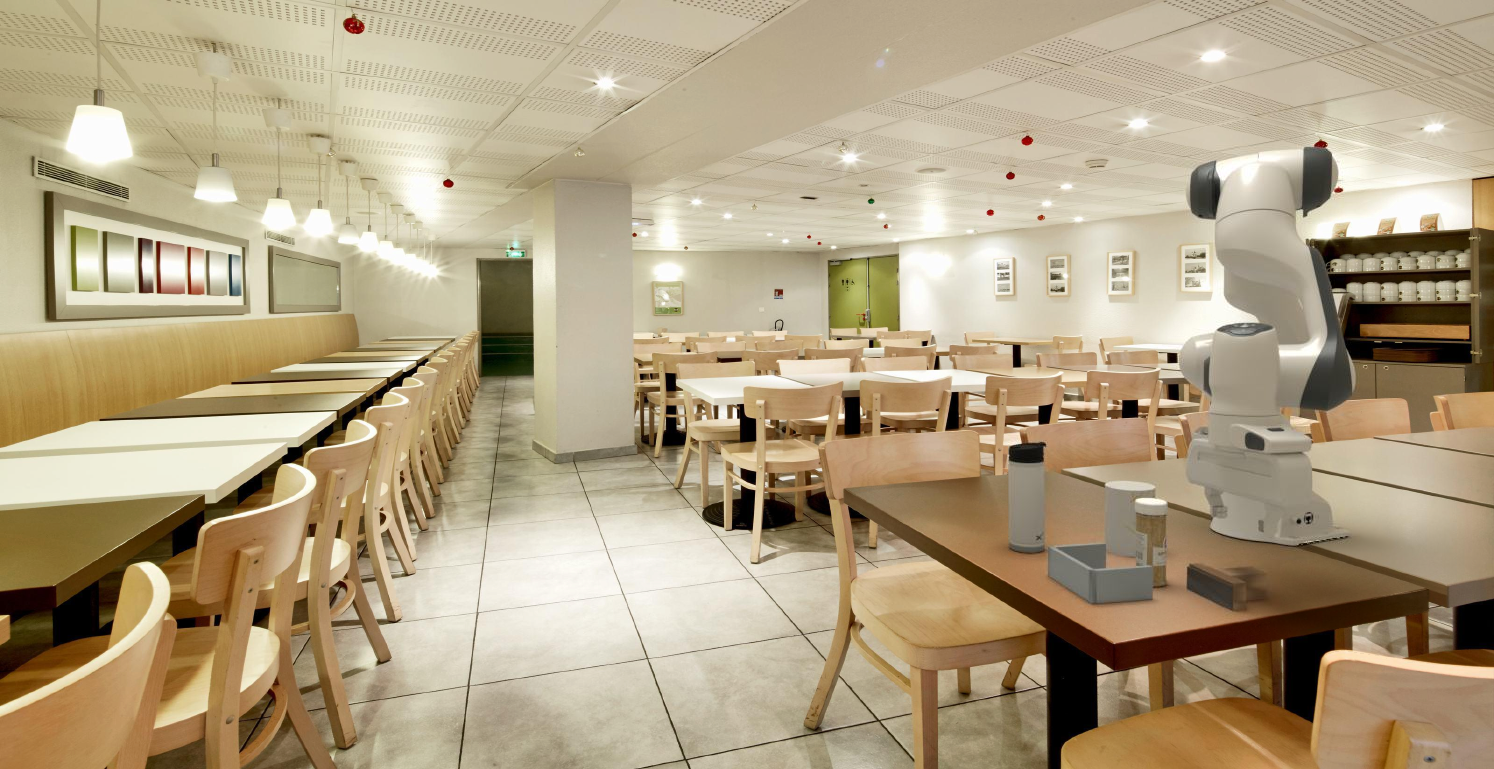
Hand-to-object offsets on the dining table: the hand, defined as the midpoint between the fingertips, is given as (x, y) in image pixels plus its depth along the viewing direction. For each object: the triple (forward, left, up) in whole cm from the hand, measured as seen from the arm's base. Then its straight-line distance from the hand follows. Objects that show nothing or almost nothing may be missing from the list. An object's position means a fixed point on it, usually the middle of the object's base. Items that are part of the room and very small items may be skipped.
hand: (1242, 524), depth 110 cm
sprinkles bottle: (+9, -8, -11) cm, 17 cm away
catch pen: (+18, -8, -11) cm, 23 cm away
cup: (+2, -24, -11) cm, 27 cm away
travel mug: (+19, -29, -11) cm, 37 cm away
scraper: (+1, 0, -11) cm, 11 cm away
